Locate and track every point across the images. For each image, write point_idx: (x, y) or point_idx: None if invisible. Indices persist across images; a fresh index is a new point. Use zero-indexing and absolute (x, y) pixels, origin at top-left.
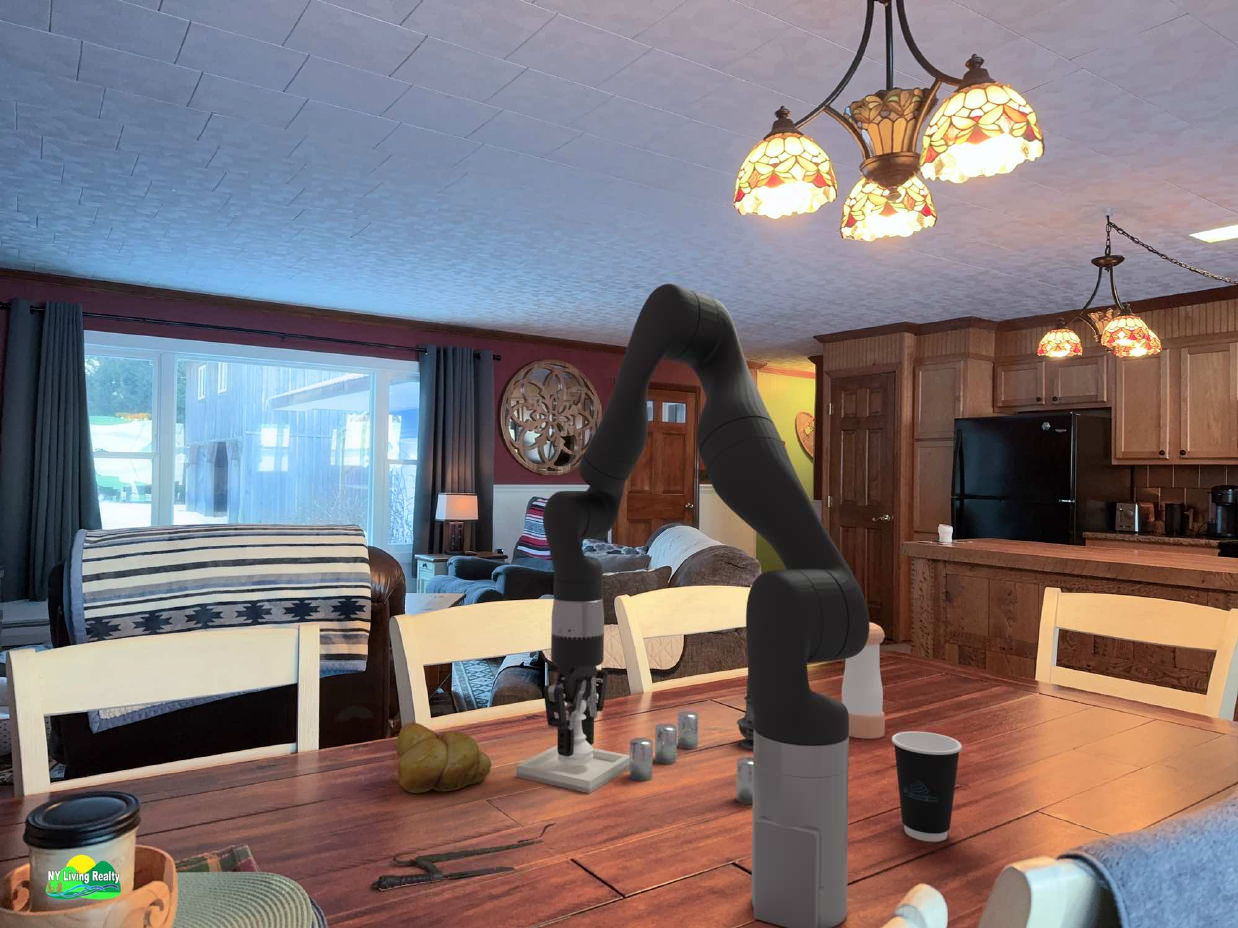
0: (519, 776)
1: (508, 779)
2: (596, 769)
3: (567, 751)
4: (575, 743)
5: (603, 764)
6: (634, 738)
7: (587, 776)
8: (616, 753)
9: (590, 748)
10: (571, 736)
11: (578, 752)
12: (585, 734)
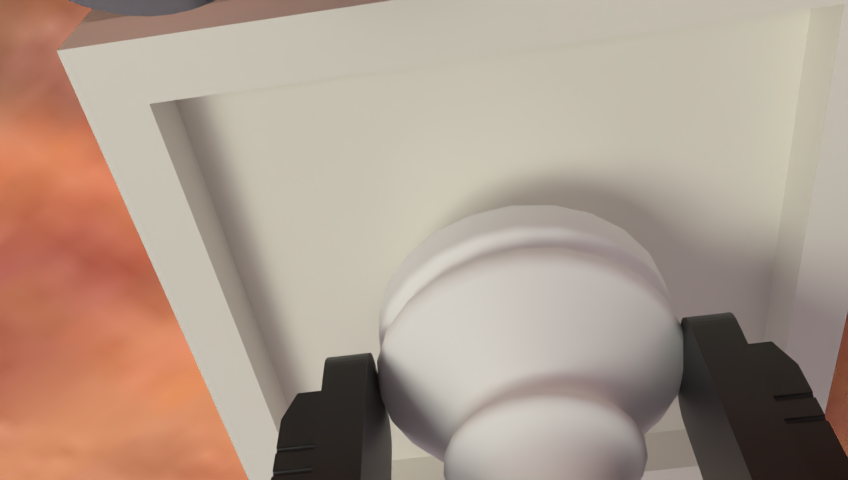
0: None
1: (840, 426)
2: (444, 146)
3: (757, 351)
4: (618, 395)
5: (309, 175)
6: (103, 3)
7: (624, 103)
8: (140, 189)
9: (496, 288)
10: (792, 447)
11: (642, 303)
12: (375, 459)
